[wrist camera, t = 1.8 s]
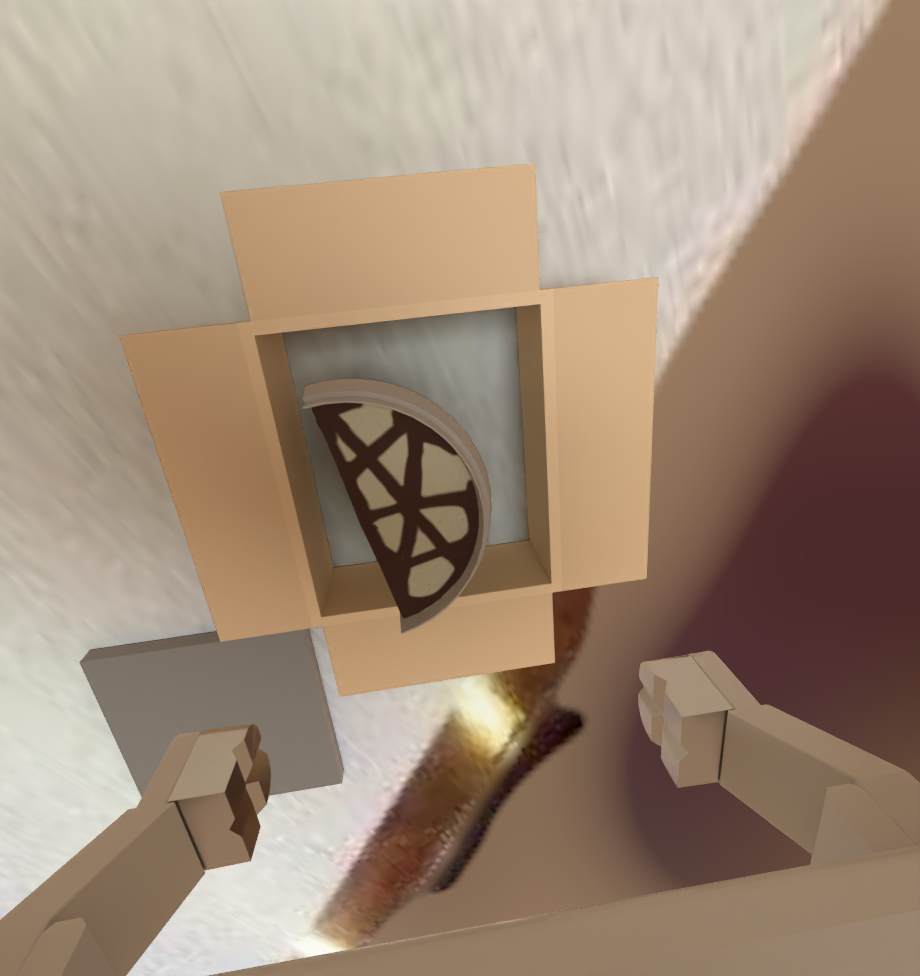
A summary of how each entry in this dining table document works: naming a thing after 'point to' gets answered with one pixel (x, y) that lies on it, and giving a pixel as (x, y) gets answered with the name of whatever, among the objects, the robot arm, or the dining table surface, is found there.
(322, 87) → the dining table surface
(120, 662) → the slate board
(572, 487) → the carton
